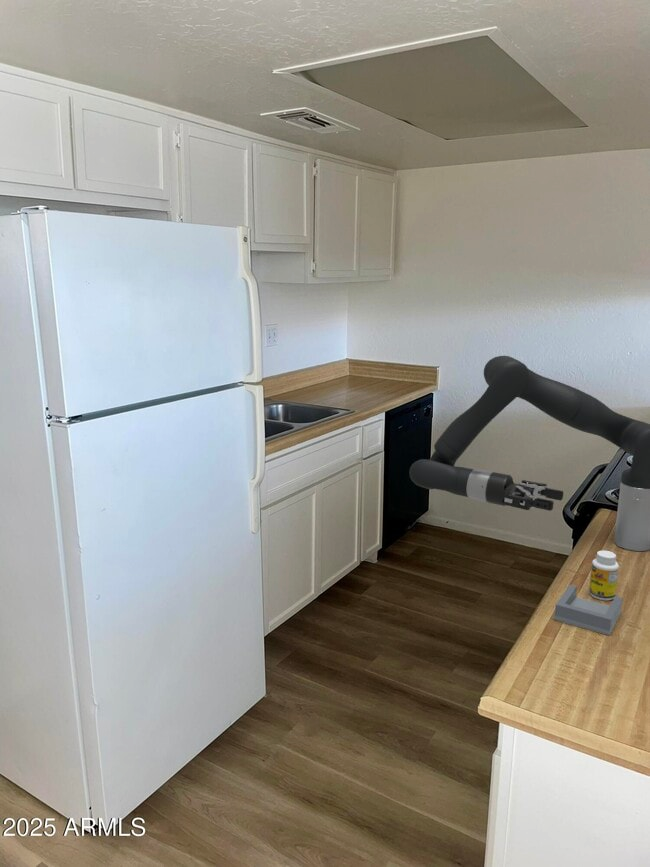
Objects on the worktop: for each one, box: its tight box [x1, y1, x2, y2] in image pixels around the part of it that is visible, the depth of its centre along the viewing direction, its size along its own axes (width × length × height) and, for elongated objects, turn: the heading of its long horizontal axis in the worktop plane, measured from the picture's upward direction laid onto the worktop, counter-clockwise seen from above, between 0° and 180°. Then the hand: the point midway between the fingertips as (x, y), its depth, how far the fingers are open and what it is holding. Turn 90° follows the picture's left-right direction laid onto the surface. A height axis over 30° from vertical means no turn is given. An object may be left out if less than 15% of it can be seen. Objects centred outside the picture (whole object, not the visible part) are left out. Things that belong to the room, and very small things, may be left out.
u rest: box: [553, 584, 623, 636], centre depth 140 cm, size 11×11×4 cm
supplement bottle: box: [588, 550, 620, 601], centre depth 148 cm, size 6×6×10 cm
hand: (558, 500), depth 151 cm, fingers open, 8 cm apart
